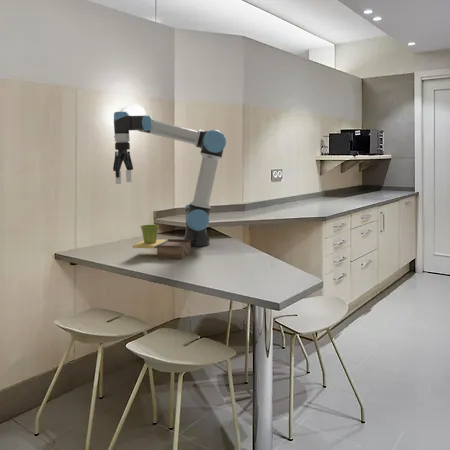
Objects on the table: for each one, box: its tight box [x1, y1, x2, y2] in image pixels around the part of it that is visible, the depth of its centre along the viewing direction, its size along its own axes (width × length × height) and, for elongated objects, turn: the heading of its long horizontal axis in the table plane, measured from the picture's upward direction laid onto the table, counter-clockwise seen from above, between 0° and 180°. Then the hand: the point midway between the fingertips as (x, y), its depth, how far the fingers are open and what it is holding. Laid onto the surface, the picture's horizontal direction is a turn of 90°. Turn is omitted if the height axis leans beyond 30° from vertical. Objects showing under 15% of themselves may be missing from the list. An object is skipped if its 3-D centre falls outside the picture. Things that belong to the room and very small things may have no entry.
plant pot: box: [140, 224, 160, 243], centre depth 256 cm, size 9×9×9 cm
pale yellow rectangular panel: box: [132, 239, 168, 249], centre depth 257 cm, size 19×1×12 cm
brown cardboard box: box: [156, 238, 192, 261], centre depth 254 cm, size 18×12×7 cm, turn 168°
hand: (124, 183), depth 262 cm, fingers open, 13 cm apart
